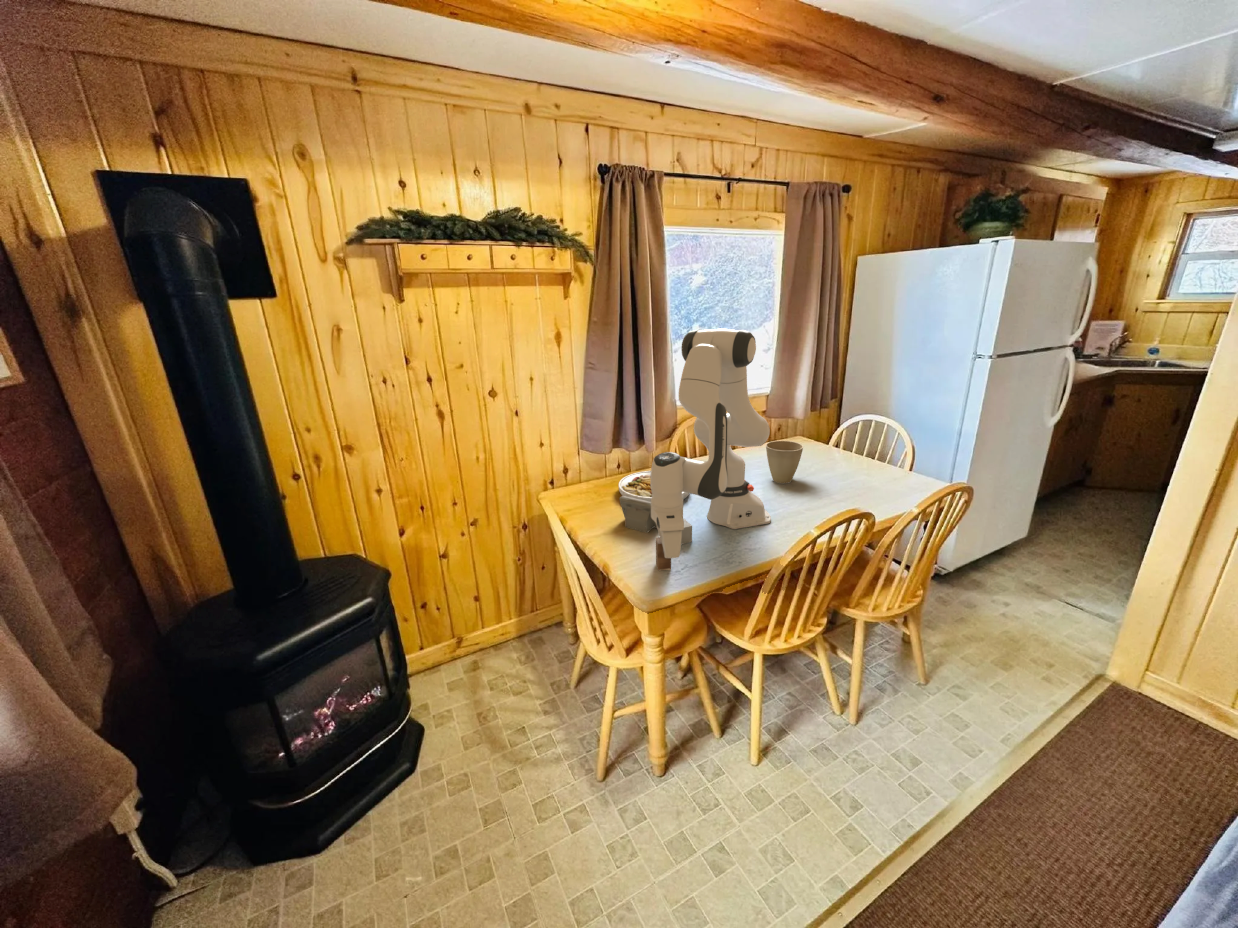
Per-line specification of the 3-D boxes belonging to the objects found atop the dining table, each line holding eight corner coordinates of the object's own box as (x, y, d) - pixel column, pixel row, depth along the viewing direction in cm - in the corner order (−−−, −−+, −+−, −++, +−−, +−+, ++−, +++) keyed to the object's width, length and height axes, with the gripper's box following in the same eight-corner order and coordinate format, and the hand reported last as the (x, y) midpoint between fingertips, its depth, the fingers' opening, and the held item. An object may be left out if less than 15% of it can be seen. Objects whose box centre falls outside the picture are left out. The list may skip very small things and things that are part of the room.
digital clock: (666, 528, 168) (666, 500, 165) (649, 537, 162) (649, 509, 159) (632, 515, 179) (631, 489, 176) (615, 523, 173) (614, 496, 170)
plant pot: (795, 474, 212) (798, 440, 207) (803, 487, 198) (807, 450, 193) (760, 474, 214) (763, 440, 208) (767, 487, 200) (769, 451, 195)
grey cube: (683, 534, 164) (684, 518, 162) (691, 542, 158) (692, 525, 156) (668, 537, 162) (667, 521, 160) (675, 545, 157) (675, 529, 155)
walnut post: (668, 562, 147) (668, 536, 144) (671, 569, 143) (671, 543, 140) (656, 563, 147) (655, 537, 144) (657, 570, 143) (657, 543, 140)
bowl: (689, 511, 181) (689, 492, 178) (612, 507, 187) (611, 489, 184) (693, 482, 209) (693, 465, 206) (626, 479, 215) (625, 463, 212)
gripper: (650, 497, 140) (651, 538, 145) (660, 528, 121) (661, 575, 126) (671, 495, 141) (671, 537, 145) (685, 527, 122) (684, 574, 126)
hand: (667, 555), depth 135 cm, fingers closed
